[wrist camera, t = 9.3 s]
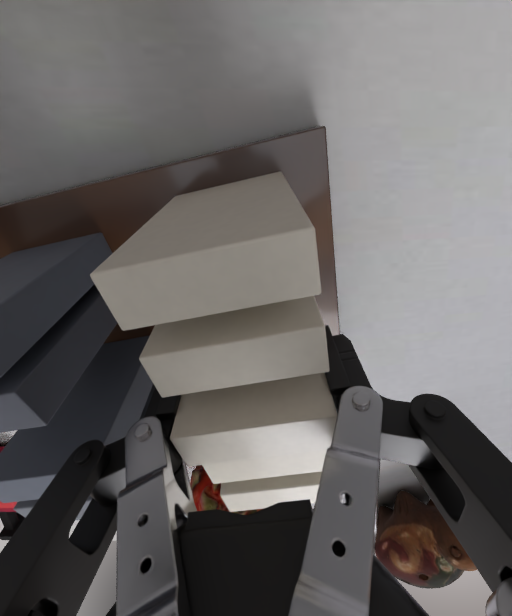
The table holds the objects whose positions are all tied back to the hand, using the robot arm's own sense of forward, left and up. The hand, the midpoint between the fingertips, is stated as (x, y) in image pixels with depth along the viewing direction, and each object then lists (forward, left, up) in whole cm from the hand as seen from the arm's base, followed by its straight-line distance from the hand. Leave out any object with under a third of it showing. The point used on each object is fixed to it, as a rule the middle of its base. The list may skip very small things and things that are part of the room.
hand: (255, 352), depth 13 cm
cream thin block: (0, 0, -4) cm, 4 cm away
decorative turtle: (+35, +12, -7) cm, 38 cm away
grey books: (0, -10, -5) cm, 11 cm away
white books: (0, 0, -5) cm, 5 cm away
